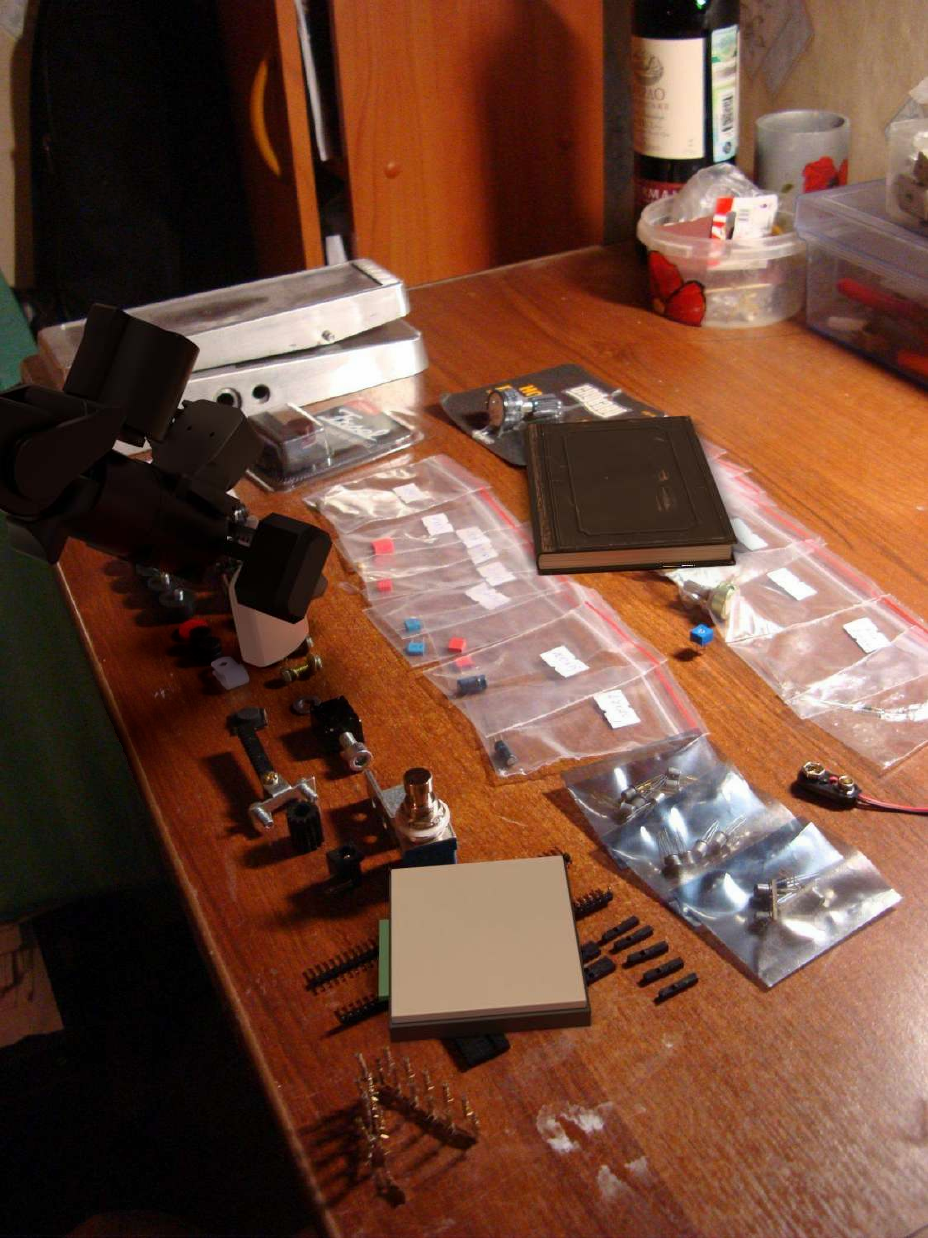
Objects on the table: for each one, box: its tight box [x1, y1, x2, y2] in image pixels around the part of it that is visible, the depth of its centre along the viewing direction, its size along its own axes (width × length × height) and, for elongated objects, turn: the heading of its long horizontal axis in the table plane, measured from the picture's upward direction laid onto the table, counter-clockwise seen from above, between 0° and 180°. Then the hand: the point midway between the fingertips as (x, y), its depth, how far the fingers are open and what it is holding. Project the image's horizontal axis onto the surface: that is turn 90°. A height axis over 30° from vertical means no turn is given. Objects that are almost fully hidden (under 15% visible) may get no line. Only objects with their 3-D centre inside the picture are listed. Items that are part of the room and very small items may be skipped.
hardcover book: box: [523, 414, 739, 576], centre depth 101 cm, size 16×23×2 cm
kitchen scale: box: [378, 855, 592, 1043], centre depth 61 cm, size 11×10×3 cm
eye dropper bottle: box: [228, 514, 310, 668], centre depth 82 cm, size 4×6×12 cm
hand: (275, 571), depth 83 cm, fingers open, 9 cm apart
